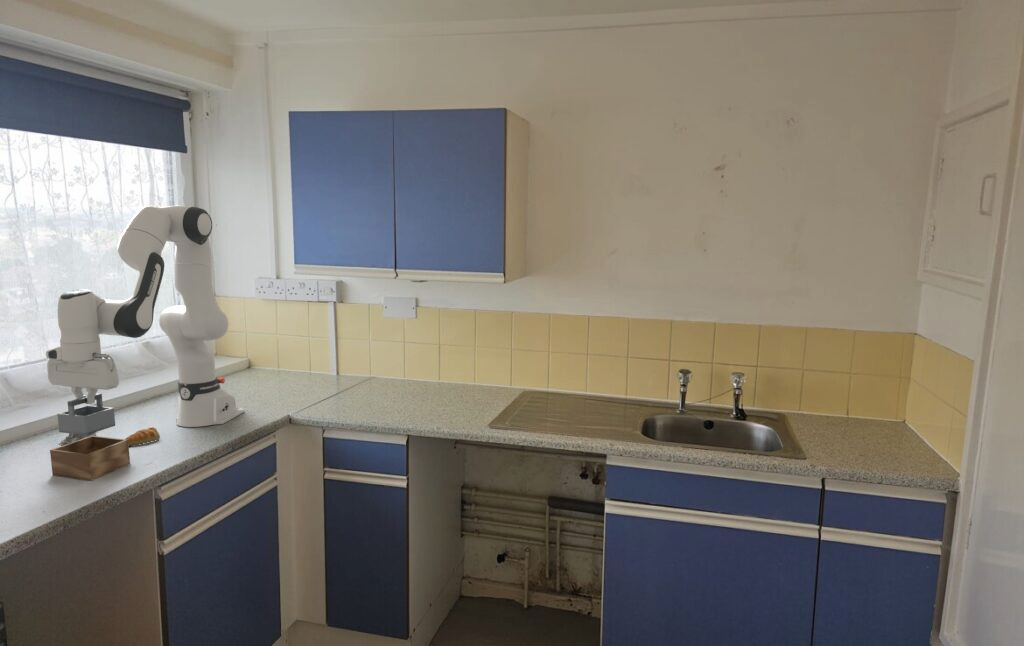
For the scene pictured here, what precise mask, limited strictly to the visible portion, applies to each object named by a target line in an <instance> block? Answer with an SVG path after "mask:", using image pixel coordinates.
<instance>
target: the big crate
mask: <svg viewBox="0 0 1024 646" xmlns="http://www.w3.org/2000/svg"><path fill="white" fill-rule="evenodd" d="M125 439H126V438H115V437H109V436H108V437H107V436H99V435H97V436H89V437H86V438H84V439H81V440H78V441H75V442H72V443H69V444H66V445H63V446H61V445H59V446H58V447H55V448H51V449H50V450H49V453H50V462H51V464H50V465H51V472H52V476H54V477H60V478H69V479H73V480H80V481H81V480H82V481H87V482H88V481H89V482H91V481H93V480H95V479H98V478H100V476H101V477H103V476H105V475H108V474H111V473H112V472H114V471H117V470H119V469H122V468H124V466H125V467H127V466H129V465H131V458H130V457H131V456H130V449H129V448H130V447H129V446H130V445H128V440H125ZM128 464H129V465H128ZM126 465H127V466H126Z"/></svg>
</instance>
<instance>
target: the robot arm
mask: <svg viewBox="0 0 1024 646" xmlns="http://www.w3.org/2000/svg"><path fill="white" fill-rule="evenodd" d="M212 230H213V221H212V218H211V215H210V214H209V212H208V211H207V210H205V209H204V208H201V207H197V206H196V207H195V206H184V205H171V206H169V205H168V206H153V205H145V206H142V207H141V208H139V210H138V211H137V212H136V213H135V214H134V215H133V217H132V218H131V219H130V220H129V222H128V224H127V225H126V227H125V229H124V230H123V232H122V234H121V236H120V238H119V240H118V243H117V254H118V256H119V257H120V259H121V260H122V261H123V262H124V263H125V264H126V265H127V266H128V267H130V268H132V269H133V270H135V271H137V272H139V275H138V279H137V283H136V284H135V285H136V286H135V289H134V290H133V291H134V292H133V295H132V296H131V297H129V298H128V299H124V300H117V299H107V298H104V297H101V296H98V295H96V294H95V293H94V292H93V291H92V290H90V289H84V288H83V289H75V290H68V291H66V292H64V293H62V294H61V295H60V296H59V297H58V302H57V322H58V328H59V330H60V340H59V344H60V345H59V346H58V347H54V348H51V349H49V350H46V351H45V357H46V359H48V360H47V364H46V365H47V367H46V368H47V370H46V371H47V377H48V381H49V382H50V384H51V385H53V386H62V387H64V386H65V387H71V391H72V393H73V395H74V397H75V398H76V399H79V398H83V397H85V398H84V399H85V403H84V404H85V405H92V404H95V402H96V400H95V397H94V396H95V395H96V394H97V392H98V390H106V391H107V390H112V389H115V388H117V387H118V386H119V384H120V382H119V374H118V370H117V366H116V364H115V360H114V358H113V357H112V356H110V354H108V353H102V349H101V338H100V335H103V336H104V335H106V336H122V337H124V338H125V337H126V338H131V339H132V338H133V339H137V338H142V337H143V336H145V335H146V333H148V331H150V329H151V327H152V325H153V322H154V311H155V306H156V302H157V298H158V296H159V292H160V288H161V283H162V280H163V277H164V272H165V261H164V258H163V257H162V252H163V250H164V248H165V245H166V244H167V242H171V243H173V242H174V244H175V249H174V261H173V262H174V264H173V265H174V287H175V290H176V291H177V292H178V293H179V294H180V295H181V298H182V299H183V300H182V301H183V303H184V304H178V305H172V306H169V307H166V308H165V309H164V310H163V311H162V312H161V314H159V315H160V316H159V320H158V321H159V326H160V328H161V330H162V332H164V333H165V335H166V336H167V337H168V339H169V341H170V343H171V345H172V348H173V351H174V354H175V356H176V362H177V370H178V371H177V372H178V382H177V392H178V393H179V395H178V399H177V400H178V403H177V415H176V416H175V420H176V425H177V426H179V427H185V428H198V427H206V426H207V427H208V426H212V425H223V424H225V423H227V422H229V421H230V420H232V419H235V418H236V417H238V416H240V415H241V414H242V413H244V412H245V410H244V408H241V407H237V402H236V398H235V396H234V395H233V394H231V393H229V392H228V391H226V390H224V389H223V388H221V385H223V384H225V383H226V379H225V377H216V365H215V364H216V362H215V356H214V354H213V353H212V351H210V349H209V348H208V346H207V345H206V342H207V341H214V340H218V339H221V338H223V337H224V336H225V335H226V334H227V332H228V330H229V318H228V317H227V315H226V314H225V312H224V311H222V309H221V308H220V306H219V303H218V301H217V299H216V296H215V292H214V288H213V264H212V263H213V262H212V261H213V257H212V249H211V248H212V247H211V244H210V243H211V242H210V239H209V237H210V235H211V233H212ZM220 384H221V385H220ZM83 388H85V389H86V392H87V395H86V394H85V395H84V393H83V390H82V389H83ZM86 396H87V397H86Z"/></svg>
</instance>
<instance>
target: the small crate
mask: <svg viewBox="0 0 1024 646" xmlns="http://www.w3.org/2000/svg"><path fill="white" fill-rule="evenodd" d="M85 396H86V397H87V395H85ZM94 397H95V402H96V405H92V404H86V403H85V399H84V398H85V397H83V398H79V399H72V400H69V401H67V409H68V410H66V411H63V412H59V413H57V422H58V423H57V424H58V432H59V433H62V434H69V433H70V434H78V435H89V434H92V433H95V432H98V433H99V432H100V431H103V430H107V429H110V428H113V427H115V426H116V418H115V407H112V406H111V407H110V406H104V405H103V394H102V393H96V395H95V396H94ZM82 404H83V405H84V404H85V405H84V406H80V407H77V408H76V407H75V406H79V405H82Z"/></svg>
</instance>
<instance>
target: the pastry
mask: <svg viewBox="0 0 1024 646" xmlns="http://www.w3.org/2000/svg"><path fill="white" fill-rule="evenodd" d="M124 439H125V440H128V445H129V446H133V445H135V446H140V445H139V444H141V445H144V444H143V443H146V444H148V443H147V442H150V443H152V442H151V441H154V442H156V441H155V440H157V441H159V440H160V439H161V435H160V433H159V431H158V429H157V428H155V427H153V426H152V427H148V428H145V429H140V430H137V431H136V432H134V433H133V434H130V435H128V436H127V437H126V438H124ZM158 439H159V440H158ZM133 447H134V446H133Z"/></svg>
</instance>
